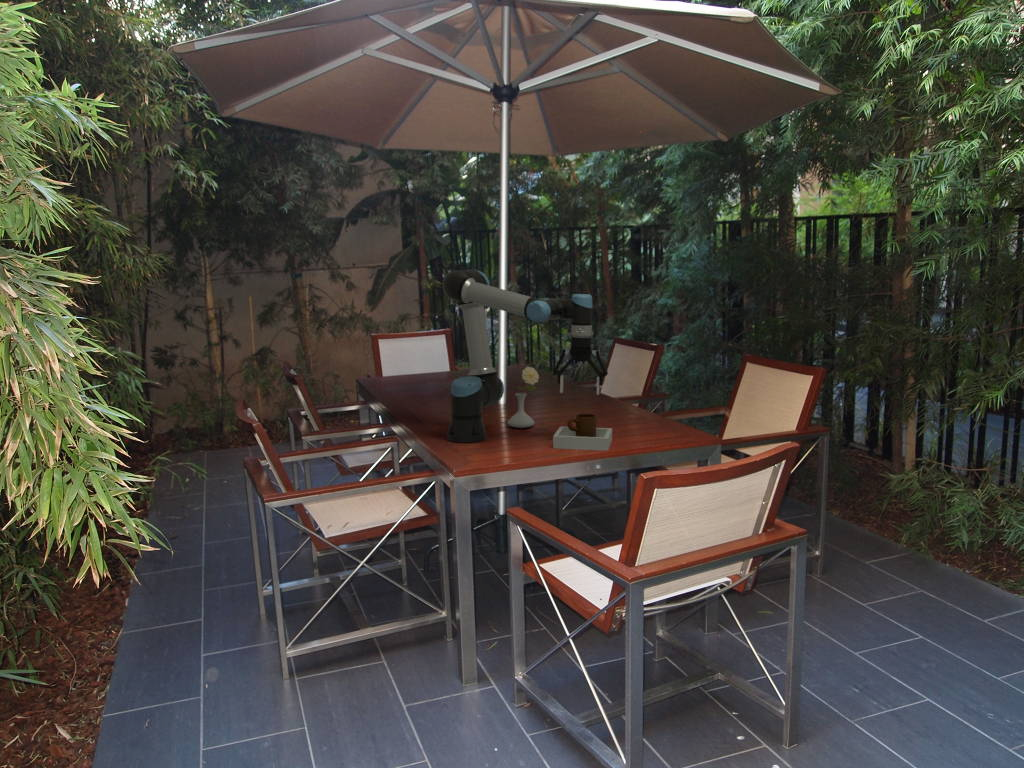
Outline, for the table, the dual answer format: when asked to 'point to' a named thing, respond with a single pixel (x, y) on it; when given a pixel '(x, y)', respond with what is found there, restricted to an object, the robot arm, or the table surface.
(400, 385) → the table surface
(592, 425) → the mug
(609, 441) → the tray
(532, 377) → the flower in vase
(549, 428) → the table surface
